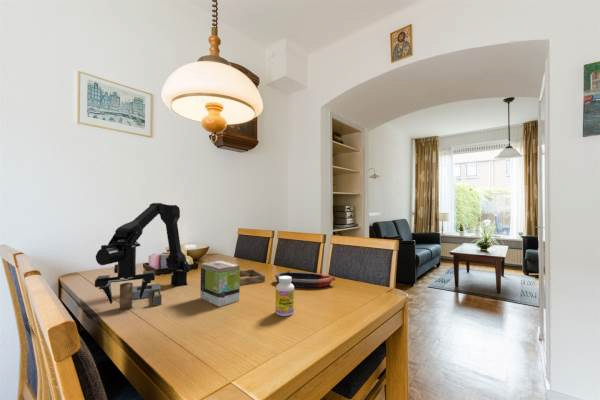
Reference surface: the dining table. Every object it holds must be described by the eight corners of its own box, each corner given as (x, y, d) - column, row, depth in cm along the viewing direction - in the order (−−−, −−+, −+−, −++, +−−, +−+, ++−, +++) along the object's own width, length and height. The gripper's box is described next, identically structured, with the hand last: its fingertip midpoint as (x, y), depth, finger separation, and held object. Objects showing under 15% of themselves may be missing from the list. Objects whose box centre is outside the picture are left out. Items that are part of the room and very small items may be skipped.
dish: (280, 278, 145) (280, 269, 145) (337, 282, 137) (337, 272, 137) (269, 286, 130) (269, 276, 130) (332, 291, 122) (332, 280, 122)
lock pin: (159, 295, 115) (160, 287, 115) (161, 304, 105) (161, 295, 105) (152, 296, 114) (152, 288, 114) (153, 305, 103) (153, 297, 103)
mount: (159, 290, 123) (159, 283, 123) (160, 295, 116) (160, 288, 116) (128, 294, 117) (128, 287, 118) (127, 300, 110) (127, 293, 110)
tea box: (240, 300, 109) (240, 264, 110) (218, 307, 102) (218, 268, 103) (220, 292, 120) (221, 259, 120) (199, 298, 112) (199, 262, 113)
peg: (132, 305, 104) (132, 282, 104) (131, 308, 101) (132, 284, 101) (119, 307, 102) (120, 283, 102) (119, 310, 99) (119, 286, 99)
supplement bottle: (276, 317, 93) (276, 280, 93) (274, 310, 99) (274, 275, 100) (295, 316, 94) (295, 279, 95) (292, 309, 101) (292, 274, 101)
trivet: (253, 274, 152) (253, 269, 152) (264, 281, 138) (264, 275, 138) (223, 278, 144) (223, 272, 144) (232, 286, 129) (232, 280, 129)
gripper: (154, 254, 114) (153, 291, 113) (99, 258, 104) (98, 299, 104) (155, 258, 104) (154, 299, 104) (94, 263, 95) (93, 308, 94)
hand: (126, 301), depth 102 cm, fingers open, 9 cm apart
